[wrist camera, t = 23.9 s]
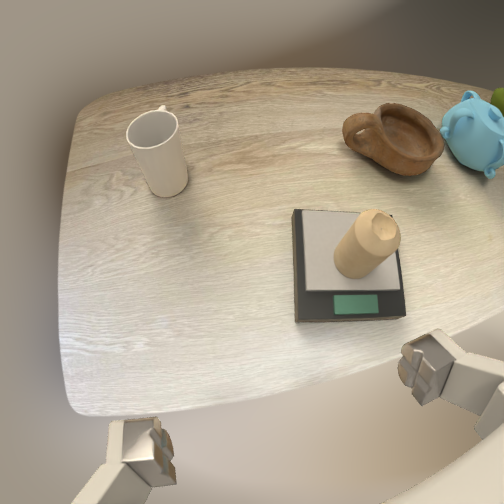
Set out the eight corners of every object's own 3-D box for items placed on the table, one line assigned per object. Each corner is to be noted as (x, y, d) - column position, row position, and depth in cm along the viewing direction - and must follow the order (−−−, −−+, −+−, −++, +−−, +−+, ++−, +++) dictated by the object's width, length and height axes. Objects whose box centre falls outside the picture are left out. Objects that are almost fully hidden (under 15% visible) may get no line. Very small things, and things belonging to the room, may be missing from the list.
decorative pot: (480, 194, 49) (519, 157, 36) (425, 138, 53) (455, 93, 40) (498, 160, 53) (529, 127, 41) (450, 113, 57) (476, 75, 44)
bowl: (364, 198, 45) (378, 144, 37) (326, 146, 53) (332, 98, 45) (444, 183, 47) (462, 138, 39) (402, 138, 55) (413, 96, 47)
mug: (186, 200, 45) (172, 148, 34) (143, 199, 45) (119, 149, 34) (195, 148, 49) (187, 93, 38) (156, 147, 49) (140, 95, 37)
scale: (397, 318, 40) (409, 314, 37) (294, 322, 39) (299, 318, 36) (385, 222, 45) (394, 212, 42) (291, 217, 45) (295, 206, 42)
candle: (338, 283, 38) (368, 254, 29) (328, 242, 40) (352, 204, 31) (376, 275, 39) (413, 247, 29) (365, 237, 40) (396, 200, 31)
